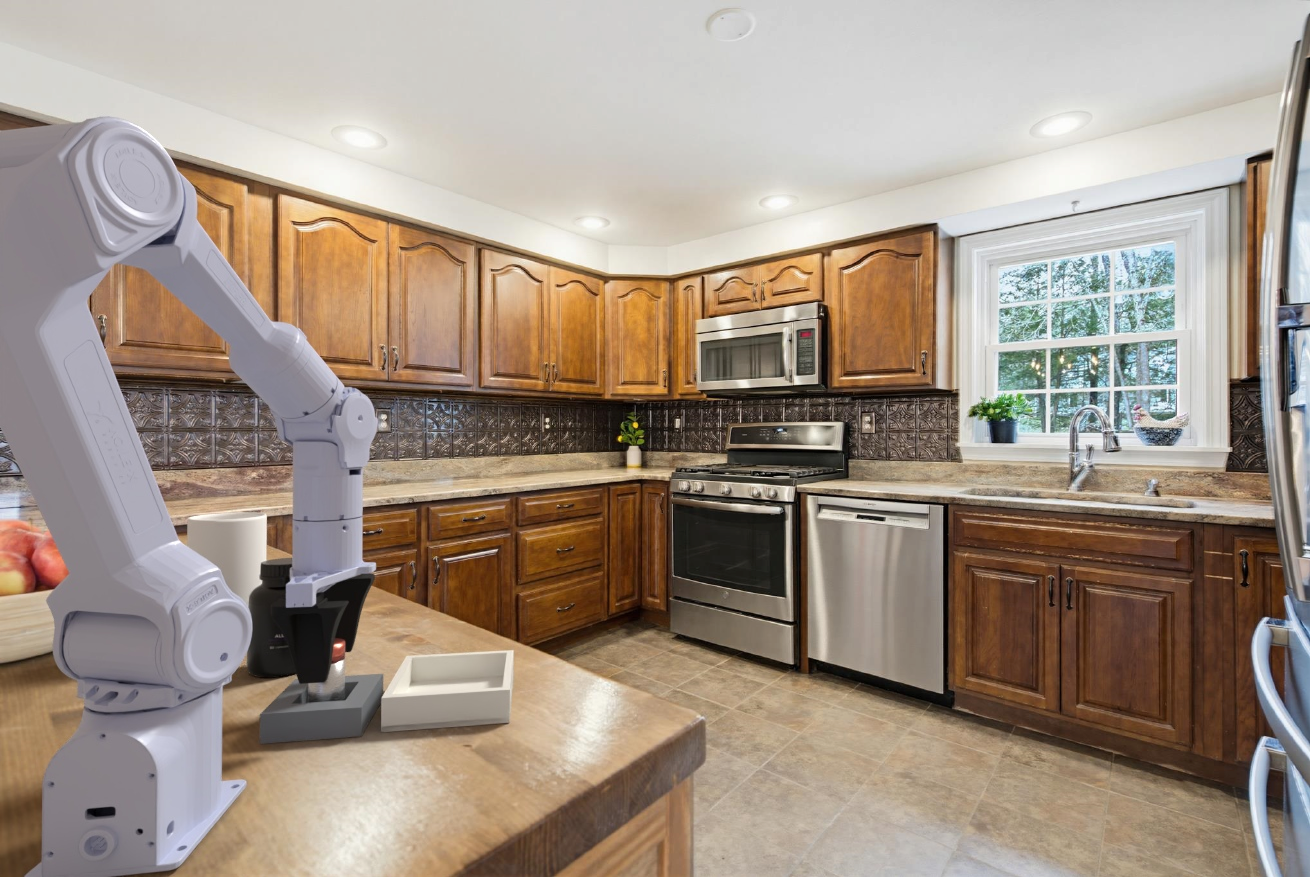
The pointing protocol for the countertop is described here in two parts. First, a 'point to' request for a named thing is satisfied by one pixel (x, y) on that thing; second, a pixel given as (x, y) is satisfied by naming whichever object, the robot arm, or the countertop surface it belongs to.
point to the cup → (232, 546)
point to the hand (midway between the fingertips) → (327, 665)
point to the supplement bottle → (269, 623)
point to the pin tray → (449, 691)
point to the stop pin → (331, 678)
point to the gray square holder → (321, 712)
